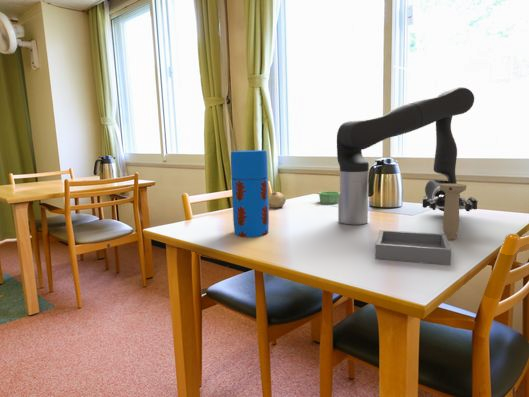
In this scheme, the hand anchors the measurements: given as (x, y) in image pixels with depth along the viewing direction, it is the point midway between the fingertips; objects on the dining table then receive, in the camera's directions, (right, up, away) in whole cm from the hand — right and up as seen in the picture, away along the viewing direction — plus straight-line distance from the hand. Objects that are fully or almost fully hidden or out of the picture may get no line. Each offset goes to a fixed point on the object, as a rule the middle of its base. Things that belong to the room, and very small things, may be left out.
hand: (451, 207), depth 104 cm
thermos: (-56, -8, +12) cm, 58 cm away
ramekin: (-23, 0, +60) cm, 65 cm away
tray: (-15, -11, -11) cm, 22 cm away
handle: (0, -9, 0) cm, 9 cm away
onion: (-47, -2, +52) cm, 70 cm away
